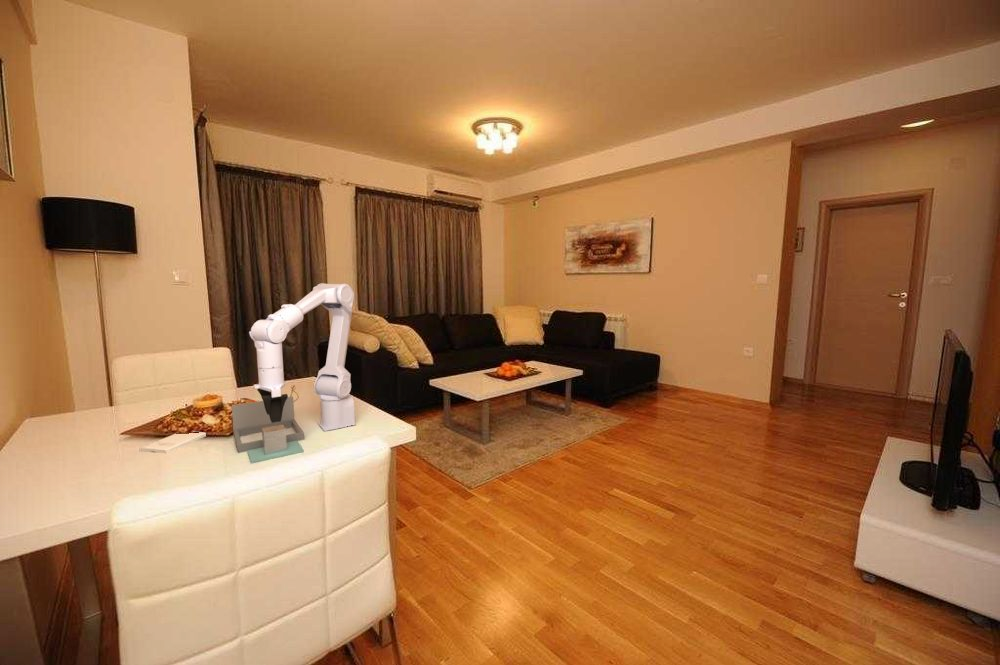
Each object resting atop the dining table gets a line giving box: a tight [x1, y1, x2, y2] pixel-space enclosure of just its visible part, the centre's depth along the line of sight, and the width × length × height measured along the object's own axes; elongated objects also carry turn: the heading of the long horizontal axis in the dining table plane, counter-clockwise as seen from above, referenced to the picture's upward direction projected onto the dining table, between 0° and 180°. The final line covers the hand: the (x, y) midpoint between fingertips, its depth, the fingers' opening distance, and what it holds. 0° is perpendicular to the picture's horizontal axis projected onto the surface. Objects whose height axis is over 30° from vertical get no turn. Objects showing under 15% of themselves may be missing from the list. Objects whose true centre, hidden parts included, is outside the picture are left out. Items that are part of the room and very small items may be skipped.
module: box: [261, 425, 287, 455], centre depth 108 cm, size 5×4×6 cm
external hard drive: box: [139, 431, 207, 454], centre depth 114 cm, size 2×8×12 cm
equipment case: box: [231, 395, 305, 454], centre depth 118 cm, size 16×15×9 cm
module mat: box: [246, 441, 304, 464], centre depth 109 cm, size 12×8×1 cm, turn 126°
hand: (273, 417), depth 108 cm, fingers open, 7 cm apart
